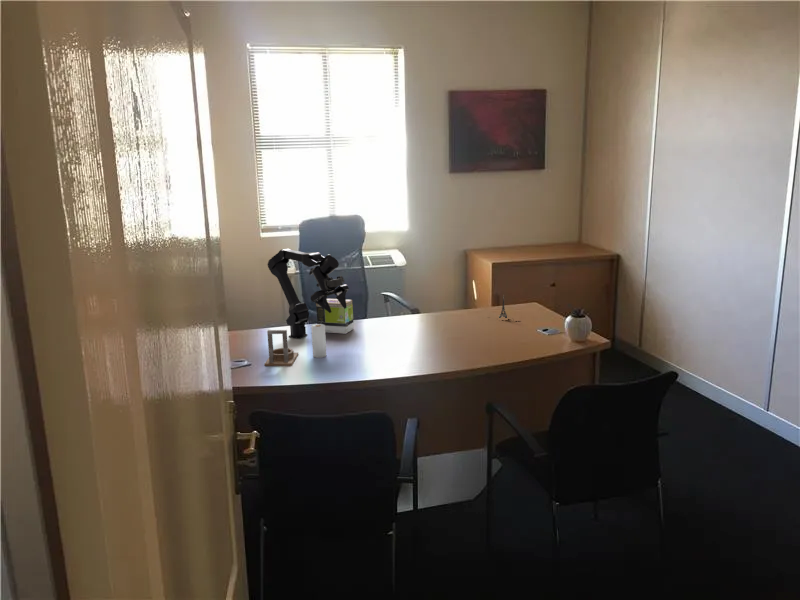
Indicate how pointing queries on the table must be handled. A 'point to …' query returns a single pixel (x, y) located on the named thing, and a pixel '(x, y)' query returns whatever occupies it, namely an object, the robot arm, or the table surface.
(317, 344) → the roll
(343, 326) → the tea box
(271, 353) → the stand
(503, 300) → the eiffel tower figurine
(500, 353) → the table surface
